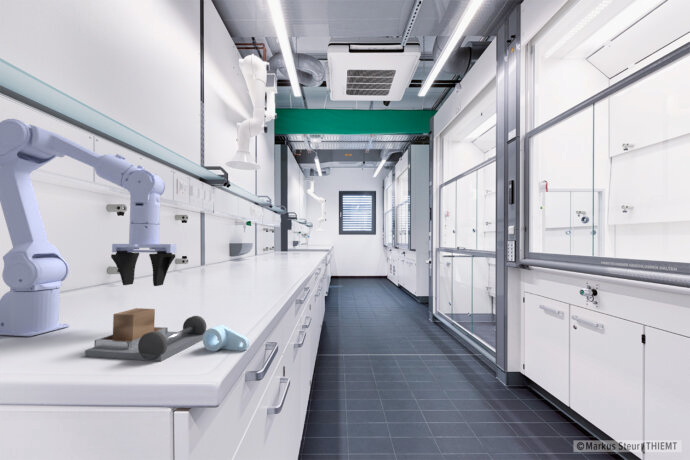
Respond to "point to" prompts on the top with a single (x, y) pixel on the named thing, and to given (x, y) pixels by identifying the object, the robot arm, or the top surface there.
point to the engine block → (133, 324)
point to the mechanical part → (224, 339)
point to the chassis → (151, 343)
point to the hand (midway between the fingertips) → (143, 285)
